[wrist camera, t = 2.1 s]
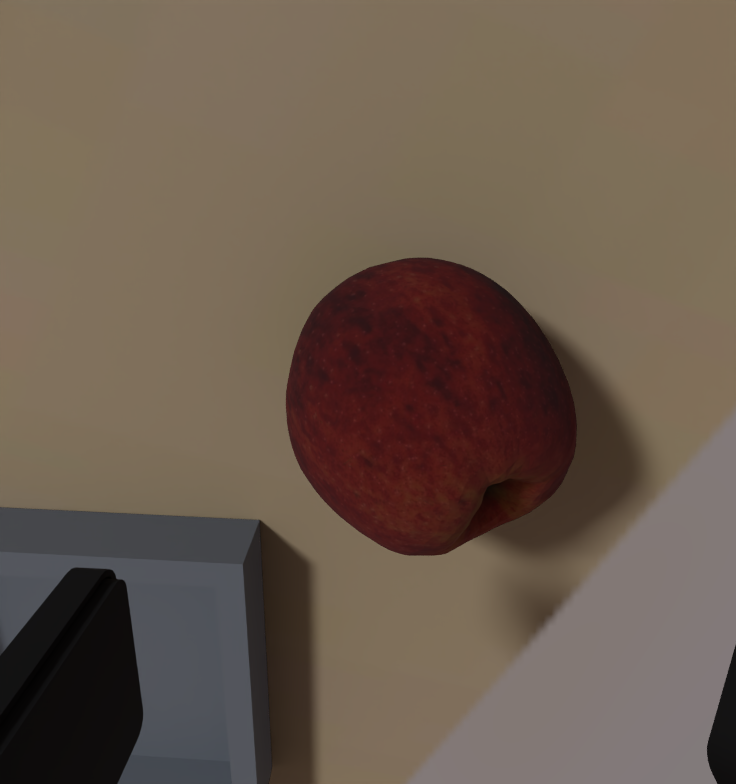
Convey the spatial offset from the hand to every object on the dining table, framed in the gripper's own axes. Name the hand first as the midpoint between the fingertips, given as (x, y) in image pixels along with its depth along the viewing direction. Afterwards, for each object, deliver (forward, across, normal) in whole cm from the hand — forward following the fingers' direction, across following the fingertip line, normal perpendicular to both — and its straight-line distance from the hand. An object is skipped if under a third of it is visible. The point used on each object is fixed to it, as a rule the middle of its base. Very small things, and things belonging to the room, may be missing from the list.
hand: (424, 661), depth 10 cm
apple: (+12, 0, -1) cm, 12 cm away
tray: (+12, +12, +12) cm, 21 cm away
